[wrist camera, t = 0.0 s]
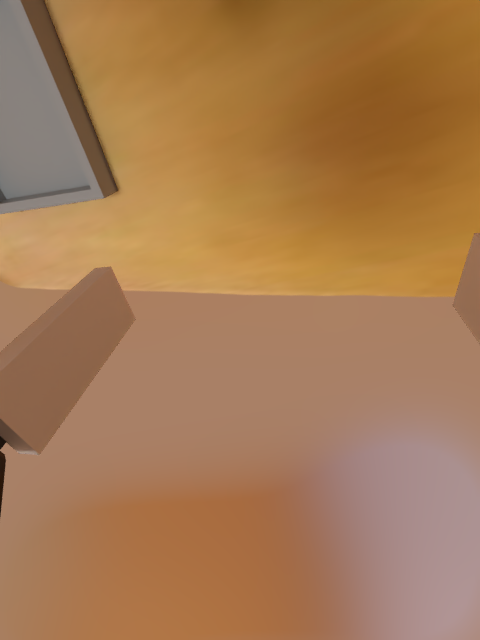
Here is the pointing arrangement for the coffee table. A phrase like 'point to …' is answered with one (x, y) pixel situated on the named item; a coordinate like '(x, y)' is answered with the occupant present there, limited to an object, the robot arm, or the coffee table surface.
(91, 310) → the robot arm
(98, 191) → the slate tray
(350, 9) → the coffee table surface
